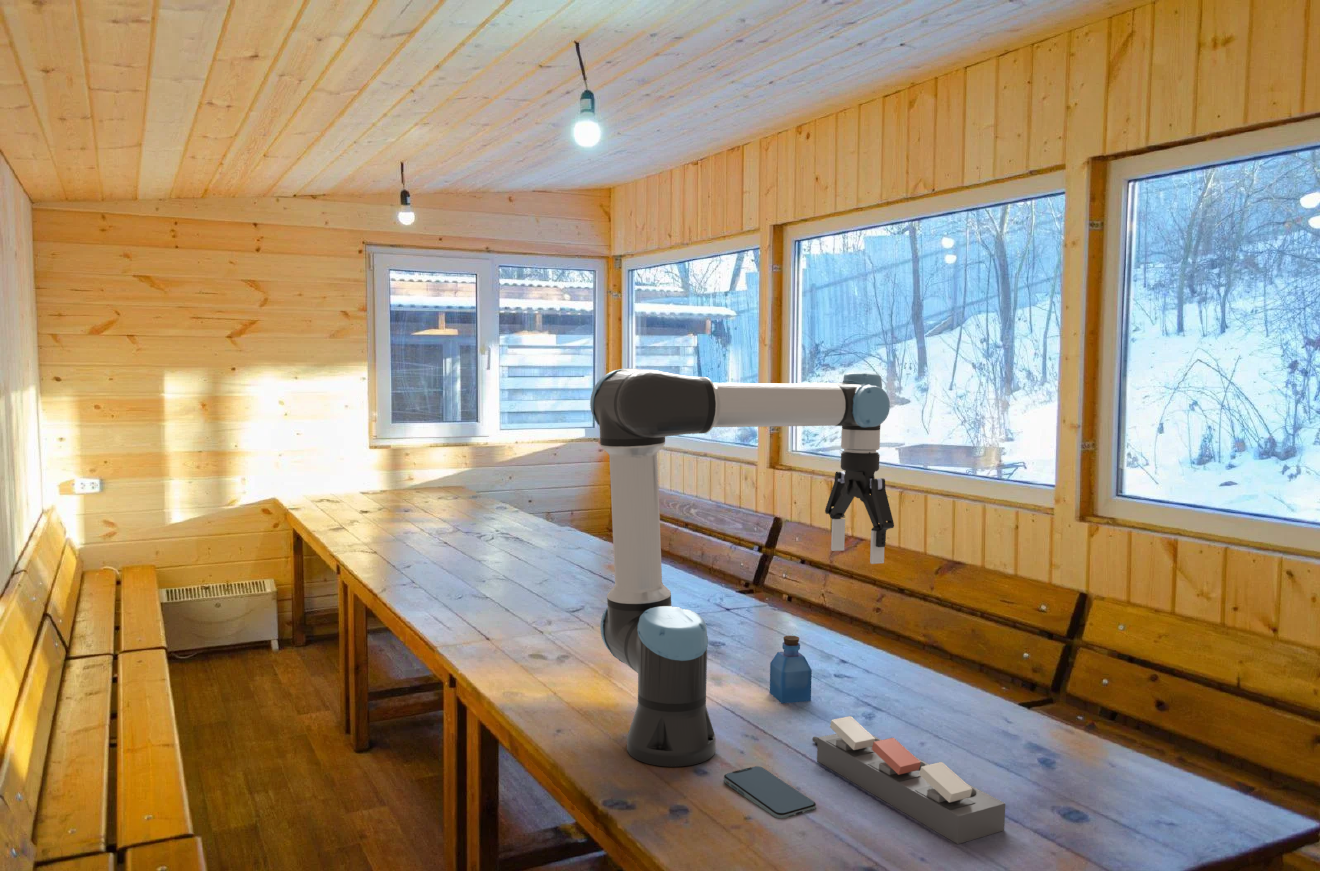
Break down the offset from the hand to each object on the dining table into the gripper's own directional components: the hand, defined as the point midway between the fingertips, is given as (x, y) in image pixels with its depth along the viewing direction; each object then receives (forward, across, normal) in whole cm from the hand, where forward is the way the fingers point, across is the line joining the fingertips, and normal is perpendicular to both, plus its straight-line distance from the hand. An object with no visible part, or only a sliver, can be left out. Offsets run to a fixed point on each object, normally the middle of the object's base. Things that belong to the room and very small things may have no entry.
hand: (856, 556), depth 200 cm
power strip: (+28, -39, +20) cm, 52 cm away
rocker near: (+22, -54, +21) cm, 61 cm away
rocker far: (+22, -33, +22) cm, 45 cm away
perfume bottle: (+28, +2, +13) cm, 31 cm away
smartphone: (+29, -36, +39) cm, 60 cm away
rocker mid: (+22, -43, +22) cm, 53 cm away
